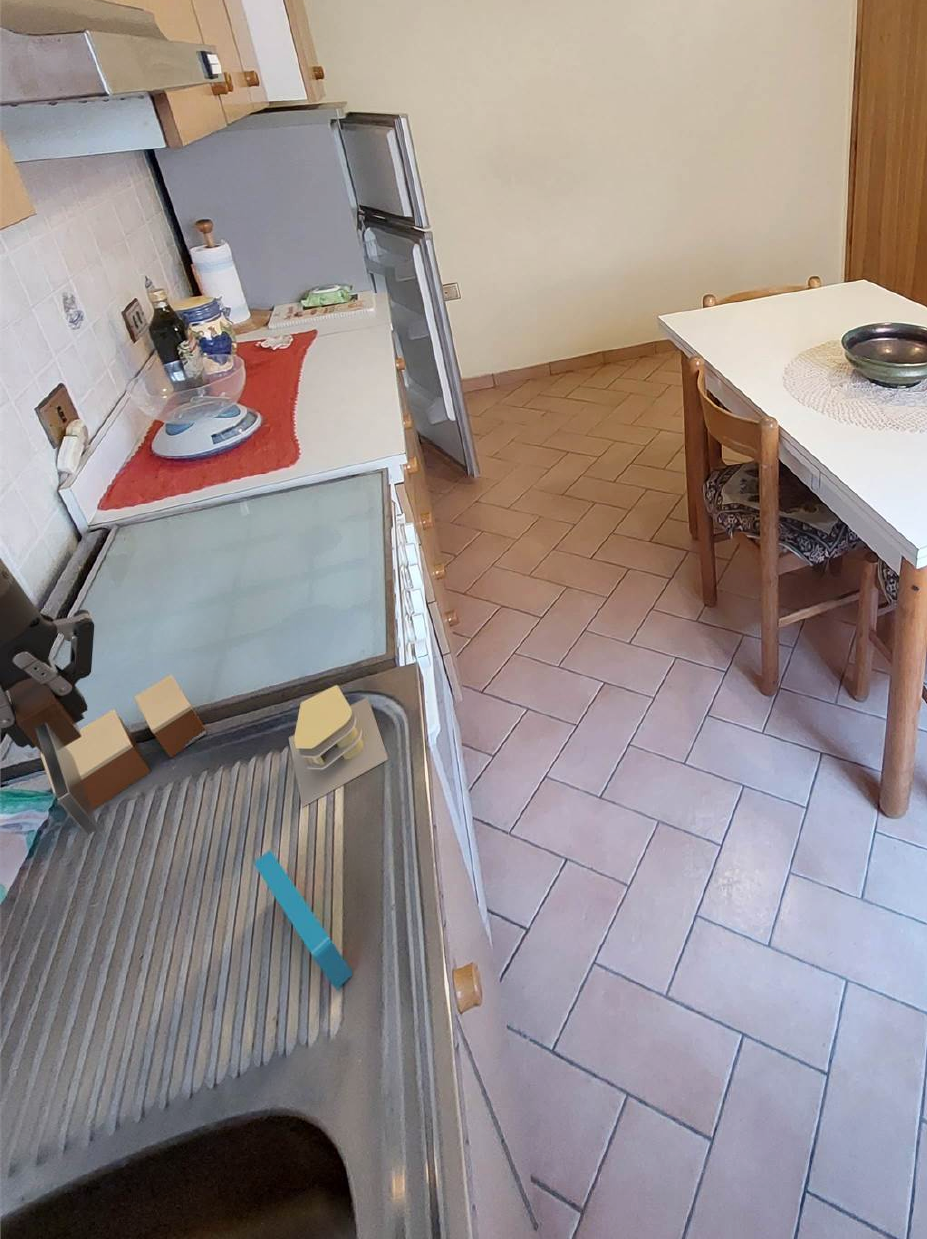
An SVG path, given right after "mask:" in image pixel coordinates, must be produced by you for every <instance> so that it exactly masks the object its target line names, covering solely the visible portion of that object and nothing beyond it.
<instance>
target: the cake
mask: <svg viewBox="0 0 927 1239" xmlns="http://www.w3.org/2000/svg"><path fill="white" fill-rule="evenodd" d="M79 731H80V734H81V737H80V738H78V739H77V740H75V741H73V742H72V743H70V744H68V745H67V746H65V747H66V748H67V749H68V751H69V752H70V753H71V755H72V756H73V757H74V760H75V763H76V766H77V768H78V771H79V774H80V777H81V780H82V783H83V785H84V788H85V791H86V794H87V797H88V800H89V802H90V805H91V808H92V811H93V812H94V810H96V809H97V808H99V807H100V806H102V805H103V804H105V803H107V802H108V801H109V800H111V799H112V798H114V797H116V795H118V794H120V793H121V792H123V791H124V790H126V789H127V788H128V787H131V785H133V784H134V783H136V782H138V781H140V780H141V779H142V778H144V777H146V776H147V775H148V774H149V773H151V771H152V770H151V769H150V767H149V765H148V763H147V760H146V759H145V757H144V755H143V754H141V753H142V751H141V749H140V747H139V745H138V743H137V741H136V738H135V737H134V735H133V734H132V732H131V731H130V730H129V728H128V726H127V725H126V723H125V722H124V721H123V719H121V717H120V715H119V714H118V713H117V711H116V710H115V709H112V710H110V711H108V712H106V713H105V714H103V715H101V716H100V717H98V718H97V719H95V720H94V721H92V722H90V723H88V724H87V725H85V726H83V727H81V729H79ZM138 747H139V748H138ZM139 749H140V750H139ZM140 751H141V752H140ZM39 755H40V759H41V761H42V764H43V767H44V770H45V773H46V776H47V779H48V781H49V784H50V788H51V790H52V792H53V794H54V796H55V797H56V798H57V796H56V793H55V790H54V787H53V784H52V780H51V777H50V774H49V771H48V767H47V764H46V761H45V758H44V755H43V754H42V753H41V752H40V753H39ZM142 755H143V756H142ZM143 757H144V758H143Z"/></svg>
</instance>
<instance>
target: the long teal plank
mask: <svg viewBox="0 0 927 1239" xmlns="http://www.w3.org/2000/svg"><path fill="white" fill-rule="evenodd" d="M253 865H254V866H255V868H256V869H257V871H258V873H259V874H260V876H261V878H262V879H263V881H264V882H265V884H266V885H267V887H268V888H269V890H270V891H271V893H272V895H273V896H274V898H275V900H276V901H277V902H278V904H279V906H280V908H282V910H283V912H284V914H285V915H286V917H287V918H288V920H289V922H290V923H291V924H292V926H293V927H294V929H295V931H296V933H297V934H298V936H299V937H300V938H301V940H302V942H303V943H304V945H305V946H306V948H307V949H308V951H309V953H310V954H311V956H312V958H314V960H315V962H316V963H317V964H318V966H319V968H320V969H321V970H322V972H323V973H324V974H325V976H326V977H327V979H328V980H329V982H330V983H331V985H332V986H333V987H334V988H333V989H335V991H338V990H339V989H340V988H341V987H342V986H343V985H344V983H345V982H347V980H348V979H349V978H350V977H352V975H353V972H352V971H351V969H350V967H349V966H348V964H347V962H346V961H345V960H344V957H343V956H342V954H341V953H340V952H339V950H338V949H337V947H336V946H335V944H334V943H333V941H332V939H331V938H330V937H329V935H328V933H327V932H326V930H325V929H324V928H323V925H322V924H321V923H320V922H319V920H318V919H317V917H316V915H315V914H314V913H313V911H312V910H311V908H310V907H309V905H308V904H307V903H306V901H305V899H304V898H303V896H302V895H301V894H300V892H299V890H298V888H297V887H296V886H295V884H294V883H293V881H292V880H291V878H290V877H289V876H288V874H287V872H286V871H285V869H284V868H283V867H282V865H281V864H280V862H279V861H278V859H277V858H276V856H275V854H274V853H273V851H272V850H271V849H268V850H267V851H266V852H265V853H264V854H262V855H261V856H260V857H259V858H257V859H256V860H255V861H254V862H253Z"/></svg>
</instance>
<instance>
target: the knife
mask: <svg viewBox="0 0 927 1239" xmlns="http://www.w3.org/2000/svg"><path fill="white" fill-rule="evenodd" d="M7 692H8V696H9V700H10V702H11V705H12V706H13V709H14V713H15V716H16V720H17V723H18V725H19V726H20V727H21V728H22V729H23V731H24V732H25V733H26V734H27V736H28V737H29V738H30V739H31V740H32V742H33V743H34V744H35V745H36V747H35V748H37V749H38V750H39V752H40V753H42V754H43V755H44V758H45V761H46V764H47V767H48V771H49V774H50V777H51V780H52V784H53V787H54V790H55V793H56V796H57V797H56V796H55V797H56V799H57V801H58V803H59V804H60V805H61V806H62V807H63V809H65V811H66V812H67V813H68V814H69V815H70V817H71V818H72V819H73V820H74V822H75V823H76V824H77V825H78V826H79V827H80V829H81V830H82V831H83V833H84V834H86V836H90V835H91V834H93V833H94V832H95V831H97V830H98V829H99V825H98V822H97V820H96V816H95V814H94V810H93V811H92V808H91V805H90V802H89V800H88V797H87V794H86V791H85V788H84V785H83V783H82V780H81V777H80V774H79V771H78V768H77V766H76V763H75V760H74V757H73V756H72V755H71V753H70V752H69V751H68V749H67V748H66V747H65V746H67V745H68V744H70V743H72V742H73V741H75V740H77V739H78V738H80V737H81V734H80V731H79V730H80V729H79V725H78V722H77V723H76V722H75V721H74V720H73V719H72V717H71V716H70V715H69V713H68V712H67V711H66V709H65V708H64V707H63V705H62V704H61V703H60V701H59V700H58V698H57V695H56V694H55V693H54V692H53V691H52V690H51V689H49V688H48V687H47V686H46V685H42V684H40V683H39V682H38V681H37V680H35V679H34V678H33V677H32V678H30V679H27V680H24V681H21V682H18V683H17V684H16V685H14V686H13V687H12V688H10V689H9V690H7Z"/></svg>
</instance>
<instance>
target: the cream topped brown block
mask: <svg viewBox="0 0 927 1239" xmlns="http://www.w3.org/2000/svg"><path fill="white" fill-rule="evenodd" d="M133 699H134V701H135V703H136V704H137V707H138V708H139V710H140V712H141V715H142V716H143V718H144V720H145V721H146V723H147V725H148V727H149V730H150V731H151V733H152V734H153V735H154V737H155V738H156V739H157V741H158V743H159V744H160V746H161V747H162V748H163V749H164V752H165V753H166V754H167V756H168V757H169V758H170V759H172V758H173V757H174V756H176V755H178V754H179V753H181V752H182V751H184V750H185V749H186V748H185V745H186V744H188V743H189V741H190V740H192V739H193V738H194V737H196V736H198V735H199V734H200V733H202V732H203V731H205V730H206V731H207V729H206V728H205V725H204V724H203V723H202V721H201V720H200V718H199V716H198V714H197V712H196V711H195V709H194V708H193V706H192V705H191V703H190V701H189V700H188V698H187V697H186V695H185V694H184V692H183V691H182V689H181V687H180V685H179V684H178V683H177V681H176V679H175V678H174V676H173V675H172V674H169V675H168V676H166V677H164V678H162V679H161V680H160V681H157V682H156V683H155V684H153V685H151V686H150V687H148V688H145V690H143V691H141V692H140V693H138V694H137V695H134V696H133ZM196 714H197V715H196Z"/></svg>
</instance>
